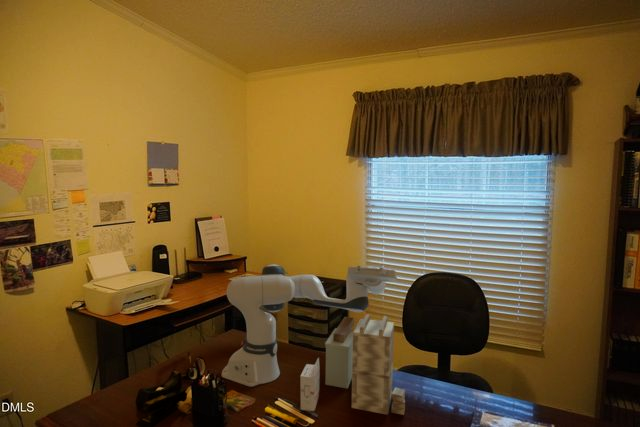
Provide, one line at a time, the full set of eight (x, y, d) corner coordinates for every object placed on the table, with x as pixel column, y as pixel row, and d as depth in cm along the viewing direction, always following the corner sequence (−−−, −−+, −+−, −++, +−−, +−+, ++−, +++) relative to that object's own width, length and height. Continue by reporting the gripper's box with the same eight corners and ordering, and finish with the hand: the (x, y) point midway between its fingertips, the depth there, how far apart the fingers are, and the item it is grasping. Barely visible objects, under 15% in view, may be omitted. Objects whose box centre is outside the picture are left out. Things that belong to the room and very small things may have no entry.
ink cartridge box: (305, 395, 128) (306, 355, 127) (319, 397, 127) (320, 356, 126) (299, 410, 120) (299, 367, 119) (314, 412, 119) (314, 368, 118)
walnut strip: (333, 341, 135) (333, 333, 135) (344, 323, 153) (344, 316, 152) (343, 342, 134) (343, 334, 134) (353, 324, 151) (353, 317, 151)
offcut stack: (391, 412, 119) (391, 395, 118) (392, 403, 124) (393, 386, 123) (404, 415, 118) (405, 397, 117) (405, 406, 123) (406, 389, 122)
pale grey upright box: (324, 384, 135) (325, 343, 134) (334, 365, 149) (335, 327, 148) (348, 389, 132) (348, 346, 131) (356, 369, 147) (357, 330, 145)
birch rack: (351, 407, 121) (353, 326, 119) (358, 387, 134) (360, 313, 131) (387, 414, 118) (390, 331, 116) (391, 392, 130) (394, 316, 128)
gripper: (397, 287, 156) (394, 278, 144) (350, 282, 161) (344, 273, 149) (398, 272, 158) (395, 262, 146) (351, 269, 164) (346, 259, 152)
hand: (369, 268), depth 148 cm, fingers open, 8 cm apart
